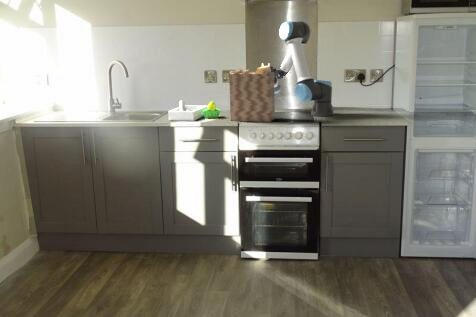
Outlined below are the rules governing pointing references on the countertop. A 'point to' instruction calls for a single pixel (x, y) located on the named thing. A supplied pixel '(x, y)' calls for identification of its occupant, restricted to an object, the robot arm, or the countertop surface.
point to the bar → (262, 69)
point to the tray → (187, 113)
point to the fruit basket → (211, 111)
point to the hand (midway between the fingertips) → (265, 65)
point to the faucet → (182, 106)
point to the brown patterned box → (252, 96)
